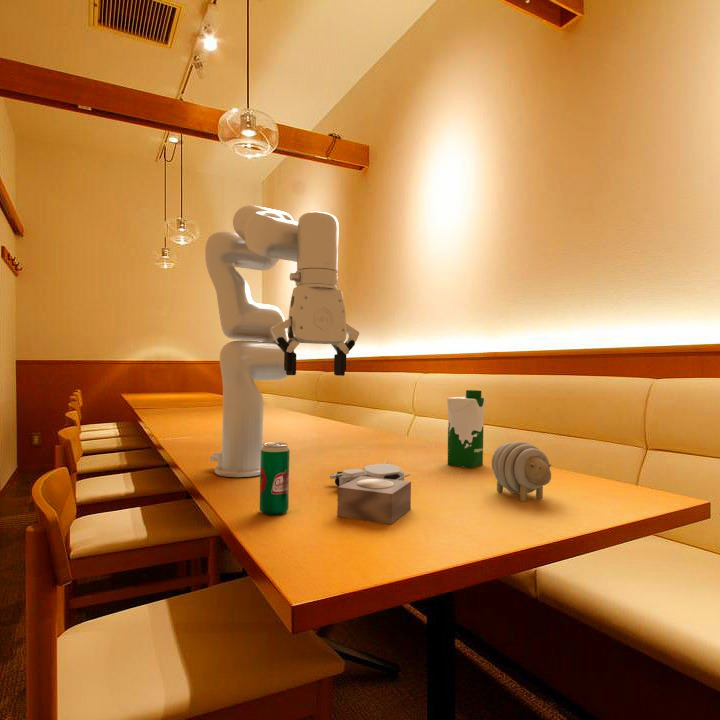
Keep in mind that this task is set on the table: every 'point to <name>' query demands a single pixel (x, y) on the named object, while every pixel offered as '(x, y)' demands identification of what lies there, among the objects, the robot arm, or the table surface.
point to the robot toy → (370, 473)
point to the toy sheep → (521, 469)
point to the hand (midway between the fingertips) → (315, 375)
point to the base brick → (374, 499)
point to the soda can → (274, 478)
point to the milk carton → (466, 429)
